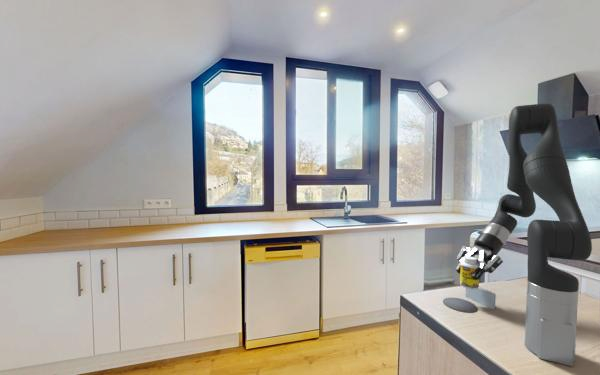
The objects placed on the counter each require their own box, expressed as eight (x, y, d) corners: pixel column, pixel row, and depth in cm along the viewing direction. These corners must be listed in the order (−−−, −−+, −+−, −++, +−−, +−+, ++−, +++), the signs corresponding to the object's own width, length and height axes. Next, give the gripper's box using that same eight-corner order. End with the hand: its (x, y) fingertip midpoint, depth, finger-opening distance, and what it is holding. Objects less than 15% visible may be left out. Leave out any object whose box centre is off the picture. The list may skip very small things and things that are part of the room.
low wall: (495, 308, 88) (495, 293, 88) (491, 309, 88) (492, 294, 88) (468, 295, 98) (469, 282, 98) (465, 296, 98) (466, 282, 97)
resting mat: (479, 315, 84) (479, 314, 84) (443, 307, 89) (443, 306, 88) (474, 302, 93) (474, 301, 93) (442, 296, 97) (442, 295, 97)
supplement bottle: (458, 287, 91) (459, 258, 91) (461, 282, 96) (461, 254, 95) (478, 291, 88) (479, 261, 87) (479, 286, 92) (480, 257, 92)
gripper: (468, 228, 100) (442, 262, 97) (508, 236, 86) (480, 276, 83) (478, 240, 102) (453, 274, 99) (519, 251, 88) (491, 290, 85)
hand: (465, 275), depth 91 cm, fingers closed on supplement bottle, 5 cm apart
